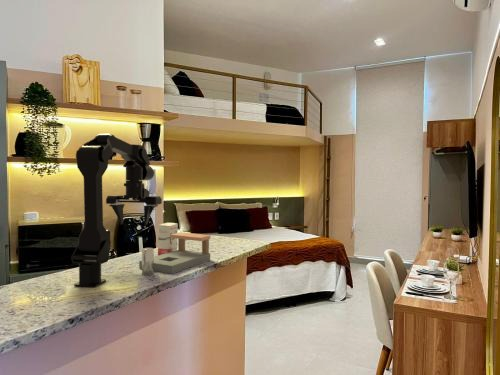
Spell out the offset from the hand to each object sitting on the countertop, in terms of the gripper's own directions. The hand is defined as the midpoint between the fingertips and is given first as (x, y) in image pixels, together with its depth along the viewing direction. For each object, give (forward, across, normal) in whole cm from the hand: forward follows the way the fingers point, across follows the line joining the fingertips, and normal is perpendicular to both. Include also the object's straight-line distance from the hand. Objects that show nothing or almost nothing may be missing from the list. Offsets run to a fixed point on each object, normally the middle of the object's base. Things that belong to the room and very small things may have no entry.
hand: (133, 224), depth 133 cm
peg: (+14, -11, +12) cm, 22 cm away
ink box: (+14, -6, -19) cm, 24 cm away
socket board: (+14, -15, -2) cm, 21 cm away
